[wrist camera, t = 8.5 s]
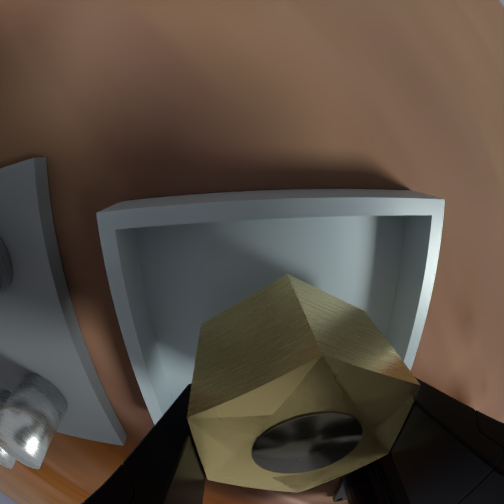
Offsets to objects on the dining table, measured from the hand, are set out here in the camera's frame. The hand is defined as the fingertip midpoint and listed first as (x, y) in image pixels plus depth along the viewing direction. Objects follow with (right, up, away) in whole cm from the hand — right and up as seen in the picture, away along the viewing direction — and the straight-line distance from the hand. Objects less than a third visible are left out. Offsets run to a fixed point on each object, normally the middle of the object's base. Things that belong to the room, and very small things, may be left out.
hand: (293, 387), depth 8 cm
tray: (0, +1, +3) cm, 3 cm away
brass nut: (0, 0, +1) cm, 1 cm away
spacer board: (-15, 0, +2) cm, 15 cm away
